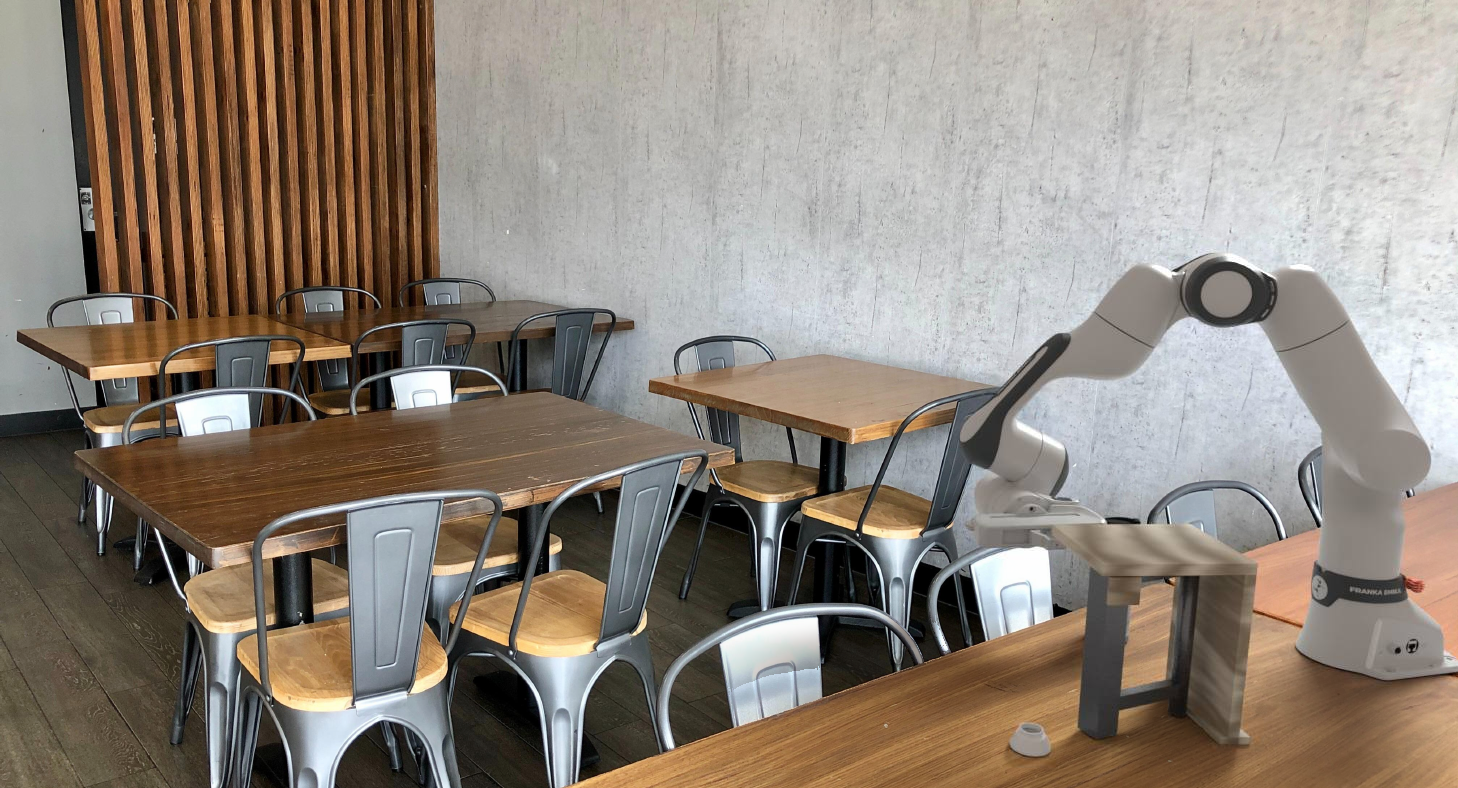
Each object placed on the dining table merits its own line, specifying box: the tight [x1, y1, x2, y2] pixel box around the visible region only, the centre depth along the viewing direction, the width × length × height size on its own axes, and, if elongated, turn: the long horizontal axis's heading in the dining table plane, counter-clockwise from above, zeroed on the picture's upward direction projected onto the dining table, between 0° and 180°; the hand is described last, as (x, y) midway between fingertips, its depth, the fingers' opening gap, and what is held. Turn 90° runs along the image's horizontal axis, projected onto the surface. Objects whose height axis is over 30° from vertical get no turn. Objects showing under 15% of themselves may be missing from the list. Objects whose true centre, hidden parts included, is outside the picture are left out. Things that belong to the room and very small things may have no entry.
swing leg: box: [1077, 566, 1200, 740], centre depth 142 cm, size 17×4×22 cm, turn 114°
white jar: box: [1009, 722, 1052, 758], centre depth 136 cm, size 5×3×5 cm
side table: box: [1052, 523, 1259, 746], centre depth 144 cm, size 22×17×24 cm
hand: (1057, 544), depth 158 cm, fingers closed
